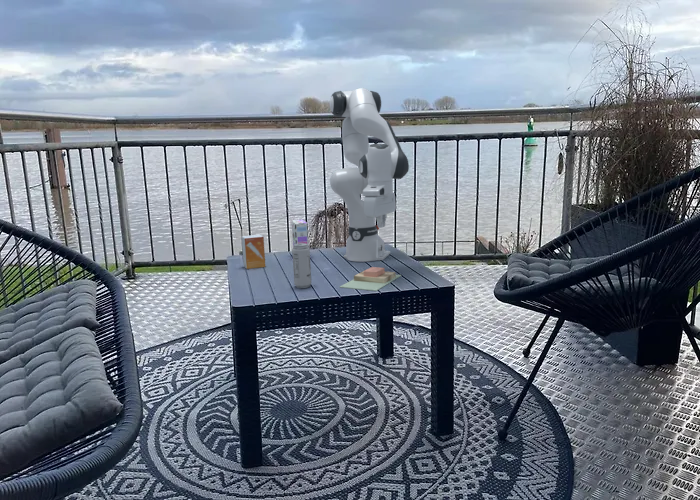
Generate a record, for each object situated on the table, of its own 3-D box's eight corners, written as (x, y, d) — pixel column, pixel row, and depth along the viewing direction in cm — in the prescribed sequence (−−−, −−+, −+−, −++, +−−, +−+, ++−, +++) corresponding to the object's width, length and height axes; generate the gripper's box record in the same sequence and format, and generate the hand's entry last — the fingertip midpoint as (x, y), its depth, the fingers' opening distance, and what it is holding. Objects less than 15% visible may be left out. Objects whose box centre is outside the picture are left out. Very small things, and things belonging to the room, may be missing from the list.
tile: (372, 271, 192) (372, 266, 191) (384, 272, 189) (384, 267, 189) (363, 276, 186) (363, 271, 185) (376, 277, 183) (376, 272, 183)
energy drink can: (312, 287, 180) (309, 245, 178) (294, 289, 180) (292, 246, 177) (310, 283, 186) (308, 242, 183) (294, 284, 185) (291, 243, 183)
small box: (246, 269, 213) (244, 238, 211) (243, 266, 219) (241, 236, 216) (266, 267, 216) (263, 236, 214) (262, 264, 222) (260, 234, 219)
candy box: (310, 260, 226) (308, 222, 223) (296, 261, 225) (294, 223, 222) (305, 254, 239) (303, 218, 236) (293, 255, 238) (291, 219, 235)
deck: (366, 274, 195) (366, 269, 195) (395, 277, 190) (395, 272, 189) (354, 281, 187) (353, 276, 186) (384, 284, 181) (384, 278, 181)
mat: (367, 272, 198) (367, 272, 198) (401, 275, 192) (401, 275, 192) (339, 287, 179) (339, 286, 179) (376, 291, 173) (376, 290, 173)
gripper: (384, 187, 199) (385, 222, 201) (360, 191, 181) (361, 230, 183) (399, 187, 196) (400, 223, 198) (376, 191, 178) (377, 231, 181)
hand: (381, 227), depth 191 cm, fingers closed
